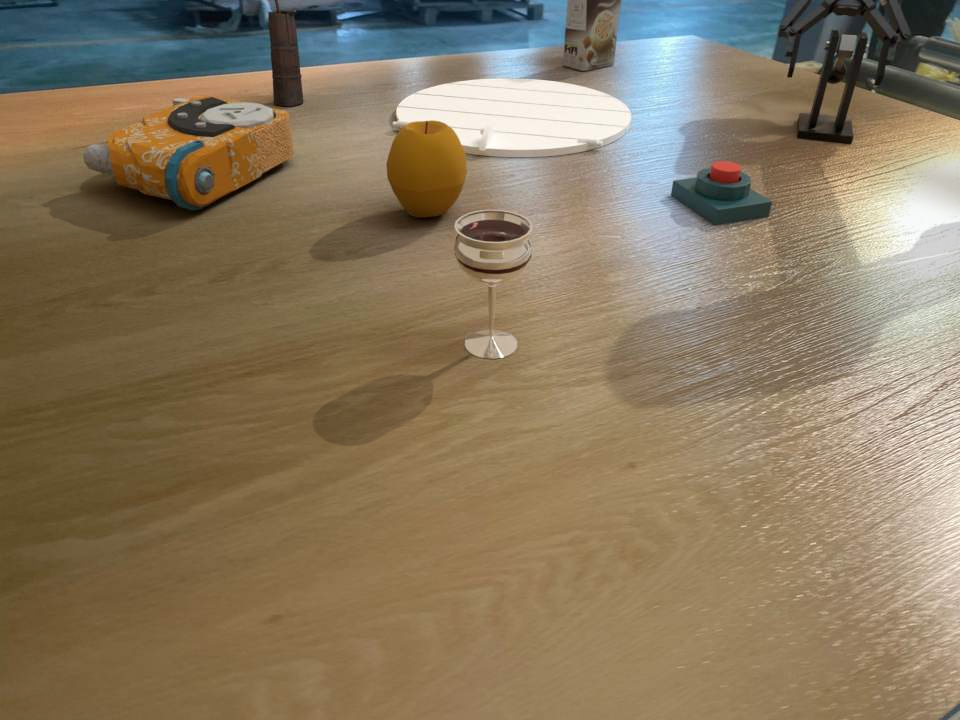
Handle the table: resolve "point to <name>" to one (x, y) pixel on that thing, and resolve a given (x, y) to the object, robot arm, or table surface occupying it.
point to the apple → (426, 168)
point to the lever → (842, 58)
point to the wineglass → (492, 266)
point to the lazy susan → (520, 116)
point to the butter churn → (285, 58)
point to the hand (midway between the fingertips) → (834, 77)
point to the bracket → (839, 125)
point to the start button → (725, 172)
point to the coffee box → (591, 33)
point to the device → (195, 149)
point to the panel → (721, 199)
